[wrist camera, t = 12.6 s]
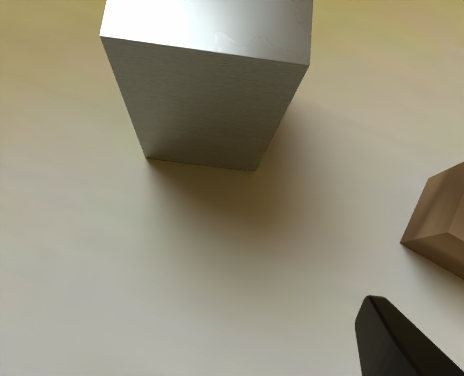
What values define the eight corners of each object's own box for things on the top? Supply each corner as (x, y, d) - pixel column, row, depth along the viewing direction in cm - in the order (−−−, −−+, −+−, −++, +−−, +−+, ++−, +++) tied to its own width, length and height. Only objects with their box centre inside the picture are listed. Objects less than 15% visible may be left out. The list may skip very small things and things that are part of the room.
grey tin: (254, 171, 20) (309, 65, 11) (145, 157, 20) (99, 35, 10) (263, 74, 22) (318, -96, 12) (161, 60, 21) (134, -127, 12)
